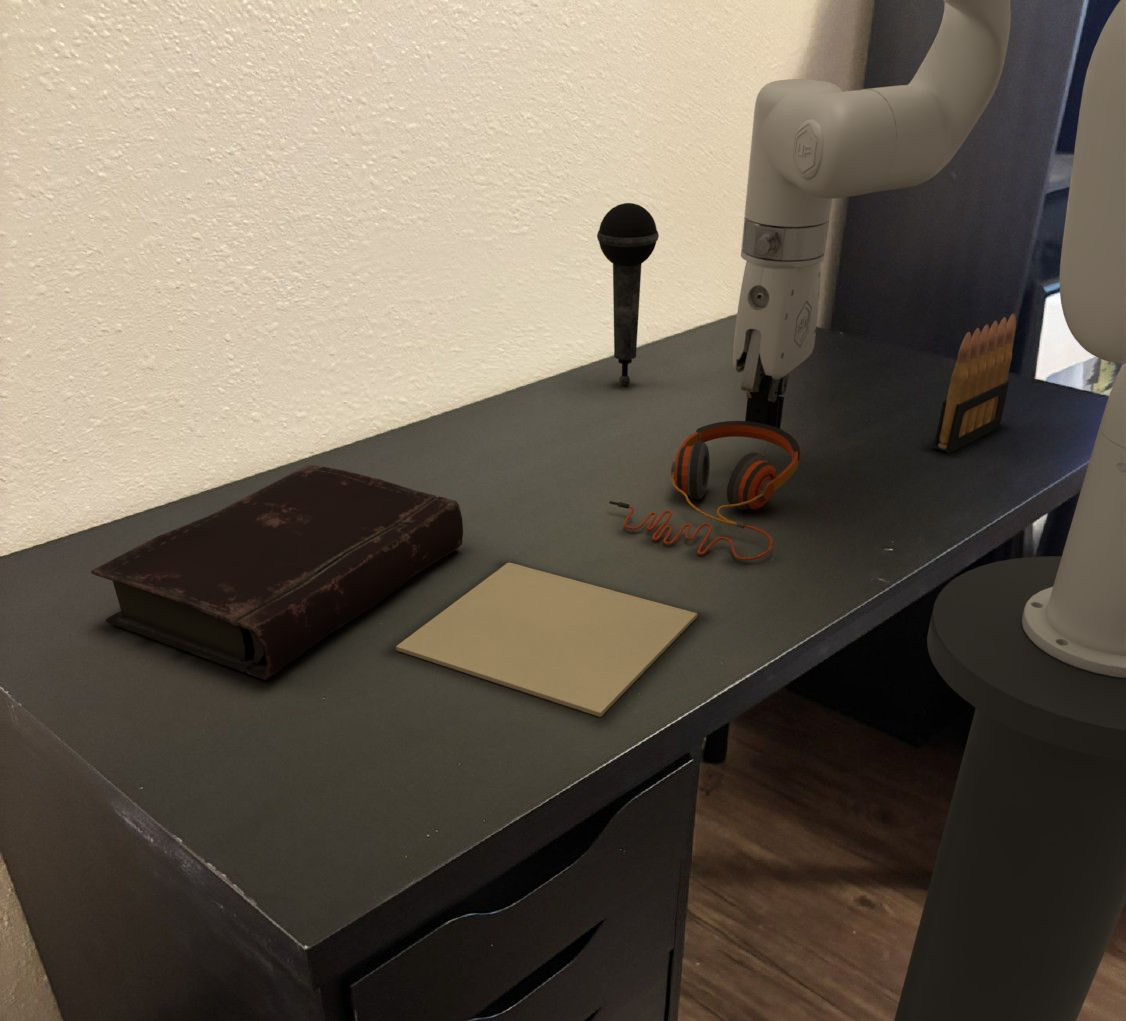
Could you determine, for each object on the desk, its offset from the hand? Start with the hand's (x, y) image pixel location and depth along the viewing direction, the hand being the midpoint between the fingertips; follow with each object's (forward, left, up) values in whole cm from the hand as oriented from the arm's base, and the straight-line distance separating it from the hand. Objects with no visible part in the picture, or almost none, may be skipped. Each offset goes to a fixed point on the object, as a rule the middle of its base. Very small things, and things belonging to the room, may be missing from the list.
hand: (761, 435), depth 111 cm
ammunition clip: (-17, -18, -3) cm, 25 cm away
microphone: (+23, -15, -3) cm, 28 cm away
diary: (+24, +43, -3) cm, 50 cm away
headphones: (0, +12, -3) cm, 12 cm away
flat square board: (+1, +39, -3) cm, 39 cm away
